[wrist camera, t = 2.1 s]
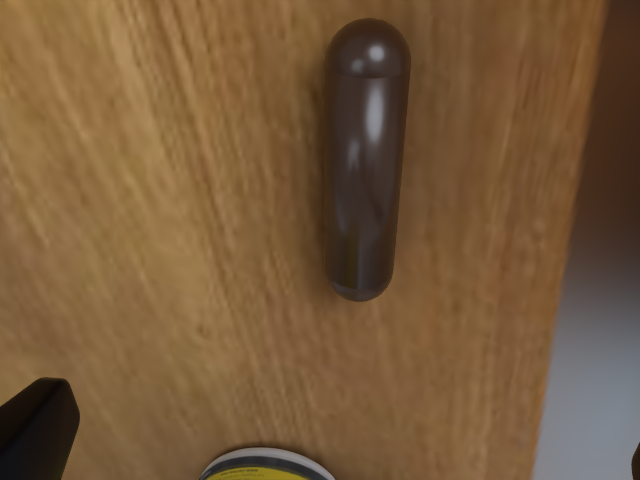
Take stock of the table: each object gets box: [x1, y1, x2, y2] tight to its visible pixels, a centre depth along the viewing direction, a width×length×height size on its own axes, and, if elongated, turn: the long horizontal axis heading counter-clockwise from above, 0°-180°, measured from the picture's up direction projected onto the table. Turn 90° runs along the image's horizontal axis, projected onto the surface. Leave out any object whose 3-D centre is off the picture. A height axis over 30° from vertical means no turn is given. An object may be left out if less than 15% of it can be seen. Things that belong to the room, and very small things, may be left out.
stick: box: [325, 18, 411, 302], centre depth 15 cm, size 2×8×2 cm, turn 0°
